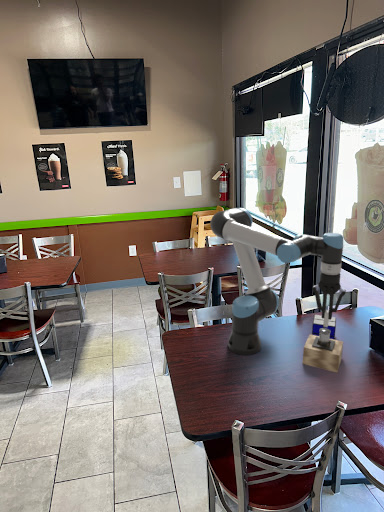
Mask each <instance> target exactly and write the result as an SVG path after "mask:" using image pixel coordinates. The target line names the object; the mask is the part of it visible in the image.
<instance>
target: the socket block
mask: <svg viewBox="0 0 384 512" xmlns="http://www.w3.org/2000/svg"><path fill="white" fill-rule="evenodd" d="M343 347H344V341H343V340H337V339H335V340H333V339H329V347H325V346H321V345H319V336H315V335H312V333H310V334H309V335H308V337H307V339H306V342H305V344H304V346H303V353H302V364H303V365H306V366H308V367H309V366H310V367H313V368H318V369H322V370H326V371H329V372H332V373H333V372H334V373H337V374H338V372H339V368H340V365H341V362H342V357H343V356H342V355H343Z"/></svg>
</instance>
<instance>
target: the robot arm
mask: <svg viewBox="0 0 384 512" xmlns="http://www.w3.org/2000/svg"><path fill="white" fill-rule="evenodd" d="M252 224H253V217H252V215H251V213H250V212H249V211H248V210H247V209H246V208H243V207H233V208H229V209H226V210H220V211H217V212H216V213H215V214H213V216H212V217H211V219H210V230H211V232H212V234H214V235H215V236H217V237H218V238H220V239H222V240H226V241H230V242H231V243H232V245H233V246H234V247H233V248H234V250H235V253H236V256H237V259H238V263H239V266H240V269H241V271H242V275H243V278H244V281H245V284H246V287H247V291H246V293H245V294H246V295H245V294H244V296H243V295H241V296H238V297H236V298H235V299H234V300H233V301H232V306H231V328H232V329H231V333H230V334H229V338H228V340H227V341H228V345H227V346H228V348H229V350H230V351H231V352H232V353H235V354H237V355H241V356H242V355H244V356H250V355H254V354H257V353H259V352H260V351H261V349H262V341H261V338H260V335H259V332H258V331H259V330H258V328H259V327H258V324H259V322H260V321H262V320H264V319H266V318H267V317H270V316H272V315H273V314H274V313H275V312H277V310H278V308H279V305H280V299H279V295H278V294H277V292H275V291H274V290H272V289H271V287H270V285H268V284H267V283H266V281H265V279H264V275H263V273H262V269H261V266H260V263H259V260H258V258H257V255H256V251H255V249H257V250H260V251H263V252H266V253H268V254H271V255H274V256H277V258H278V259H279V260H280V262H282V263H285V264H289V263H294V262H297V260H300V259H302V258H304V257H306V256H309V255H311V256H318V257H321V258H320V259H321V260H320V261H321V262H320V272H319V282H318V284H316V285H315V284H314V285H313V286H312V291H313V292H314V297H315V302H316V307H317V310H320V311H321V316H322V318H324V327H328V324H329V320H331V318H332V317H333V313H337V312H338V308H339V306H340V303H341V301H342V298H343V297H344V296H345V295H346V293H347V290H346V289H344V288H342V286H341V272H342V263H343V261H342V259H343V251H344V236H343V235H342V234H341V233H338V232H325V233H324V234H323V235H322V237H321V236H316V235H315V236H314V235H309V234H303V233H299V234H296V235H295V236H294V238H293V239H292V240H290V239H288V238H284V237H282V236H279V235H275V234H272V233H269V232H268V231H267V232H266V231H263V230H260V229H257V228H254V227H252V226H253V225H252ZM320 291H321V292H322V300H321V295H320ZM337 292H338V293H339V295H338V297H337V301H336V303H335V305H334V299H335V295H336V294H337ZM328 295H329V301H328ZM327 302H329V303H328V309H327Z"/></svg>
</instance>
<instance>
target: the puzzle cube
mask: <svg viewBox="0 0 384 512" xmlns="http://www.w3.org/2000/svg"><path fill="white" fill-rule="evenodd" d="M336 325H337V318H336V317H335V316H332V318H331V320H329V324H328V327H324V318H322V314H321V315H319V314H314V315H313V319H312V327H311V328H312V330H311V335H315V336H319V335H320V332H319V329H320V328H327V329H329V330H330V331H331V332H330V337H329V339H333V340H336V327H337V326H336Z"/></svg>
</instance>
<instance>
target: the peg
mask: <svg viewBox="0 0 384 512" xmlns="http://www.w3.org/2000/svg"><path fill="white" fill-rule="evenodd" d="M319 332H320V335H319V345H321V346H325V347H329V337H330V332H331V331H330V330H329V329H327V328H320V329H319Z"/></svg>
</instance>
